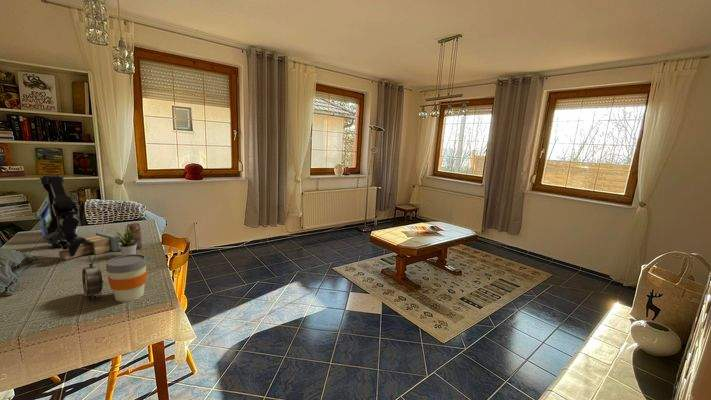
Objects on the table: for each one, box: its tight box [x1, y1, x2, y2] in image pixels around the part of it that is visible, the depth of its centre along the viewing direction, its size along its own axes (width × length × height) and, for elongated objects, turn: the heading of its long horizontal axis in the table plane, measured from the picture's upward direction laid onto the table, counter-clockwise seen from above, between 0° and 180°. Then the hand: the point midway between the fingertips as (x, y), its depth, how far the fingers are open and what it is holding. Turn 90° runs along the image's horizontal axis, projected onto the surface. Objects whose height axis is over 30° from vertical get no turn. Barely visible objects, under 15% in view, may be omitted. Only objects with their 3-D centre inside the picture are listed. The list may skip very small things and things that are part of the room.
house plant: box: [112, 226, 143, 256], centre depth 152 cm, size 14×14×16 cm
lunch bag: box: [34, 195, 79, 238], centre depth 174 cm, size 22×17×26 cm
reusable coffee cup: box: [105, 253, 148, 303], centre depth 113 cm, size 13×13×15 cm
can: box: [125, 222, 143, 251], centre depth 163 cm, size 6×6×14 cm
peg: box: [58, 243, 94, 261], centre depth 150 cm, size 4×15×4 cm, turn 166°
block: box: [82, 234, 111, 255], centre depth 156 cm, size 11×6×7 cm, turn 69°
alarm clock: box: [81, 256, 104, 302], centre depth 112 cm, size 11×5×16 cm, turn 49°
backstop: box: [95, 231, 120, 252], centre depth 161 cm, size 16×2×8 cm, turn 69°
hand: (69, 255), depth 146 cm, fingers closed on peg, 4 cm apart
